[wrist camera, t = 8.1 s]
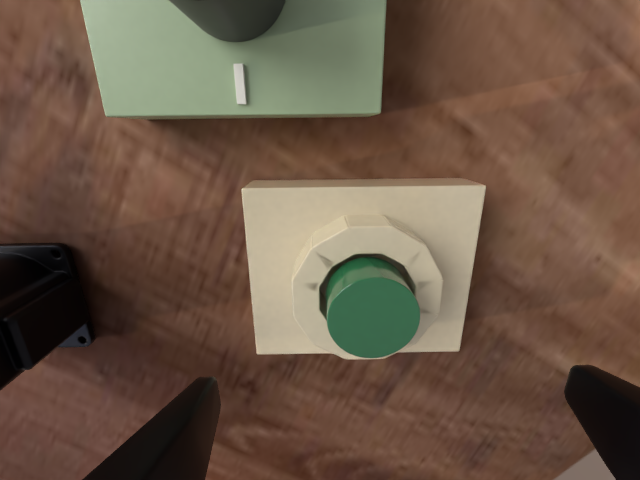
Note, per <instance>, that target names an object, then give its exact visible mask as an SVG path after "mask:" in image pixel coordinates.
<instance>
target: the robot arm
mask: <svg viewBox="0 0 640 480" xmlns="http://www.w3.org/2000/svg"><path fill="white" fill-rule="evenodd" d="M57 251H59V252H60V254H61V255H59V254H58V253H57ZM84 337H85V338H86V339H85V338H84ZM94 340H95V333H94V330H93V326H92V323H91V319H90V316H89V313H88V309H87V306H86V302H85V299H84V295H83V292H82V289H81V285H80V282H79V278H78V275H77V271H76V268H75V265H74V261H73V258H72V254H71V251H70V249H69V248H68V247H67V246H66V245H64V244H62V243H22V244H0V390H2V389H3V388H4V387H5V386H6V385H8V384H9V383H10V382H11V381H13V380H14V379H15V378H16V377H17V376H19V375H20V374H21V373H22V372H24V371H25V370H29V369H31V368H33V367H34V366H35V365H36V364H38V363H39V362H40V361H41V360H42V359H44V358H45V357H46V356H47V355H48V354H50V353H51V352H52V351H53V350H54V349H56V348H57V347H86V346H89V345H90V344H91V343H92V342H93V341H94ZM564 394H565V398H566V400H567V402H568V404H569V406H570V407H571V409H572V411H573V412H574V414H575V415H576V417H577V419H578V420H579V422H580V424H581V425H582V427H583V429H584V430H585V432H586V434H587V435H588V437H589V438H590V440H591V442H592V443H593V445H594V447H595V448H596V450H597V452H598V453H599V455H600V456H601V458H602V459H603V461H604V462H605V464H606V466H607V467H608V469H609V470H610V472H611V473H612V474H613V476H614V477H615V478H616V480H640V387H638V386H636V385H633V384H631V383H629V382H627V381H625V380H623V379H621V378H618V377H616V376H614V375H612V374H610V373H608V372H605V371H603V370H601V369H599V368H597V367H595V366H592V365H575V366H573V367H572V368H571V369H570V372H569V376H568V379H567V383H566V386H565V390H564ZM220 406H221V402H220V396H219V390H218V384H217V380H216V378H215V377H199V378H197V379H196V380H195V381H194V382H193V383H191V384H190V385H189V386H188V387H187V388H186V389H185V390H183V391H182V392H181V393H180V394H179V395H178V396H177V397H176V398H174V399H173V400H172V401H171V402H170V403H169V404H168V405H166V406H165V407H164V408H163V409H162V410H161V411H160V412H159V413H157V414H156V415H155V416H154V417H153V418H152V419H151V420H149V421H148V422H147V423H146V424H145V425H144V426H143V427H142V428H140V429H139V430H138V431H137V432H136V433H135V434H134V435H132V436H131V437H130V438H129V439H128V440H127V441H126V442H125V443H123V444H122V445H121V446H120V447H119V448H118V449H117V450H115V451H114V452H113V453H112V454H111V455H110V456H109V457H108V458H106V459H105V460H104V461H103V462H102V463H101V464H100V465H98V466H97V467H96V468H95V469H94V470H93V471H92V472H91V473H89V474H88V475H87V476H86V477H85V478H84V479H83V480H205V477H206V473H207V468H208V464H209V459H210V455H211V450H212V446H213V441H214V436H215V432H216V427H217V423H218V418H219V414H220Z"/></svg>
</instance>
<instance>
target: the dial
mask: <svg viewBox="0 0 640 480" xmlns="http://www.w3.org/2000/svg"><path fill="white" fill-rule="evenodd" d="M169 1H170V2H171V3H173V4H174V5H175V6H176V7H177V8H178V9H179V10H180V11H182V12H183V13H184V14H185V15H186V16H187V17H188V18H189V19H191V20H192V21H193V22H194V23H195V24H196V25H197V26H199V27H200V28H201V29H202V30H203V31H205V32H206V33H208V34H209V35H211V36H213V37H215V38H217V39H220V40H223V41H228V42H244V41H249V40H252V39H254V38H257V37H258V36H260V35H262V34H263V33H265V32H266V31H267V30H268V29H269V28H270V27H271V26H272V25H273V24H274V23H275V21H276V20H277V18H278V17H279V15H280V13H281V11H282V9H283V6H284V4H285V0H169Z"/></svg>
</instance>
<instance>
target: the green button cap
mask: <svg viewBox="0 0 640 480" xmlns="http://www.w3.org/2000/svg"><path fill="white" fill-rule="evenodd" d="M325 297H326V316H327V327H328V331H329V333H330V336H331V337H332V339H333V341H334V342H335V343H336V344H337V345H338V346H339V347H340V348H341V349H343V350H344V351H346V352H347V353H349V354H352V355H354V356H357V357H362V358H380V357H385V356H388V355H391V354H393V353H395V352H397V351H399V350H400V349H402V348H403V347H405V346H406V345H407V344H408V343H409V342H410V341H411V340H412V338H413V337H414V335H415V333H416V332H417V329H418V326H419V323H420V307H419V304H418V301H417V299H416V297H415V296H414V294H413V292H412V291H411V289H410V287H409V286H408V284H407V282H406V281H405V279H404V277H403V276H402V274H401V272H400V271H399V270H398V269H397V268H396V267H395V266H394V265H392V264H391V263H389V262H387V261H385V260H383V259H379V258H374V257H362V258H357V259H354V260H351V261H349V262H347V263H345V264H343V265H342V266H340V267H339V268H338V269H337V270H336V271H335V272H334V273H333V275H332V276H331V277H330V279H329V281H328V284H327V287H326V294H325Z"/></svg>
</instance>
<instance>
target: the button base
mask: <svg viewBox="0 0 640 480" xmlns="http://www.w3.org/2000/svg"><path fill="white" fill-rule="evenodd" d="M241 191H242V202H243V213H244V223H245V234H246V245H247V255H248V266H249V277H250V288H251V298H252V309H253V320H254V330H255V341H256V352H257V354H319V353H333V354H335V355H337V356H339V357H341V358H344V359H348V360H349V359H382V358H383V359H384V358H387V357H389V356H391V355H393V354H395V353H397V352H449V351H459V350H460V345H461V338H462V332H463V326H464V320H465V314H466V308H467V302H468V295H469V289H470V283H471V277H472V271H473V265H474V259H475V253H476V246H477V240H478V234H479V228H480V222H481V216H482V210H483V203H484V197H485V191H486V186H485V185H483V184H480V183H477V182H473V181H470V180H467V179H464V178H403V179H321V180H253V181H251V182H250V183H249V184H247V185H246V186H245V187H243V188H242V190H241ZM362 257H374V258H379V259H383V260H385V261H387V262H389V263H391V264H392V265H394V266H395V267H396V268H397V269H398V270H399V271H400V272H401V274H402V276H403V277H404V279H405V281H406V282H407V284H408V286H409V287H410V289H411V291H412V292H413V294H414V296H415V297H416V299H417V301H418V304H419V307H420V323H419V326H418V329H417V332H416V333H415V335H414V337H413V338H412V340H411V341H410V342H409V343H408V344H407V345H406V346H405V347H403V348H402V349H400V350H399V351H397V352H395V353H393V354H391V355H388V356H385V357H380V358H362V357H357V356H354V355H352V354H349V353H347V352H346V351H344V350H343V349H341V348H340V347H339V346H338V345H337V344H336V343H335V342H334V341H333V339H332V337H331V336H330V333H329V331H328V327H327V316H326V297H325V294H326V287H327V284H328V281H329V279H330V277H331V276H332V275H333V273H334V272H335V271H336V270H337V269H338V268H339V267H340V266H342V265H343V264H345V263H347V262H349V261H351V260H354V259H357V258H362Z"/></svg>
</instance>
